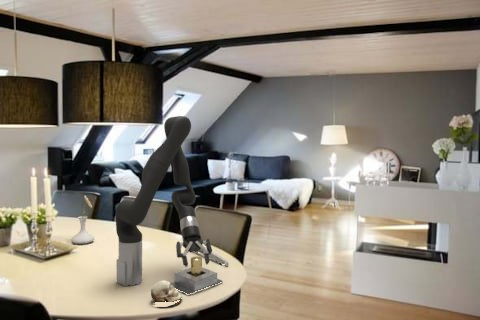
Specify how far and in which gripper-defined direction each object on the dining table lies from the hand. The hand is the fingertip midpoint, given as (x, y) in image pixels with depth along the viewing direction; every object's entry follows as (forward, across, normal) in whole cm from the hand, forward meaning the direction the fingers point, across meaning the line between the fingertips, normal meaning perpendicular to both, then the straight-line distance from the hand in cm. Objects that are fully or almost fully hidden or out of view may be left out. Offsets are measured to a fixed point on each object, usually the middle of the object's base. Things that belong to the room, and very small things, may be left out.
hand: (197, 264), depth 161 cm
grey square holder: (+5, 0, +7) cm, 9 cm away
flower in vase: (-48, -41, +61) cm, 88 cm away
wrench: (-15, +14, +28) cm, 35 cm away
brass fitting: (+4, 0, +6) cm, 8 cm away
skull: (+13, -15, 0) cm, 20 cm away
